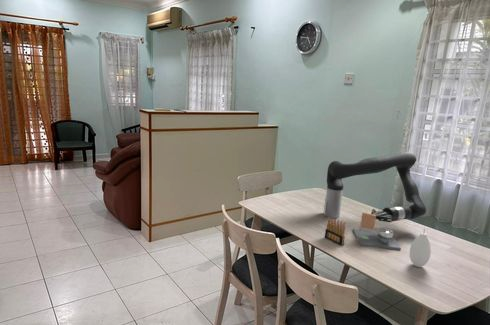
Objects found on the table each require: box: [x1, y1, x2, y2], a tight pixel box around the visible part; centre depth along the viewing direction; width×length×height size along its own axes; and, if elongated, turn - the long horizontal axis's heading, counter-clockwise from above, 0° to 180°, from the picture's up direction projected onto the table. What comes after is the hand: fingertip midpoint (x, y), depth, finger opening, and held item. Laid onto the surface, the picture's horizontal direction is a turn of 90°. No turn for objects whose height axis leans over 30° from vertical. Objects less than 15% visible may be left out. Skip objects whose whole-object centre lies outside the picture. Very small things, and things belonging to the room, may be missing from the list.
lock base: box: [352, 228, 402, 251], centre depth 168 cm, size 19×18×4 cm
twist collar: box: [359, 212, 394, 239], centre depth 164 cm, size 16×7×10 cm, turn 62°
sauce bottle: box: [409, 228, 432, 268], centre depth 143 cm, size 8×8×18 cm
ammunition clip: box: [323, 216, 346, 247], centre depth 162 cm, size 11×2×12 cm, turn 37°
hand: (368, 217), depth 166 cm, fingers closed
